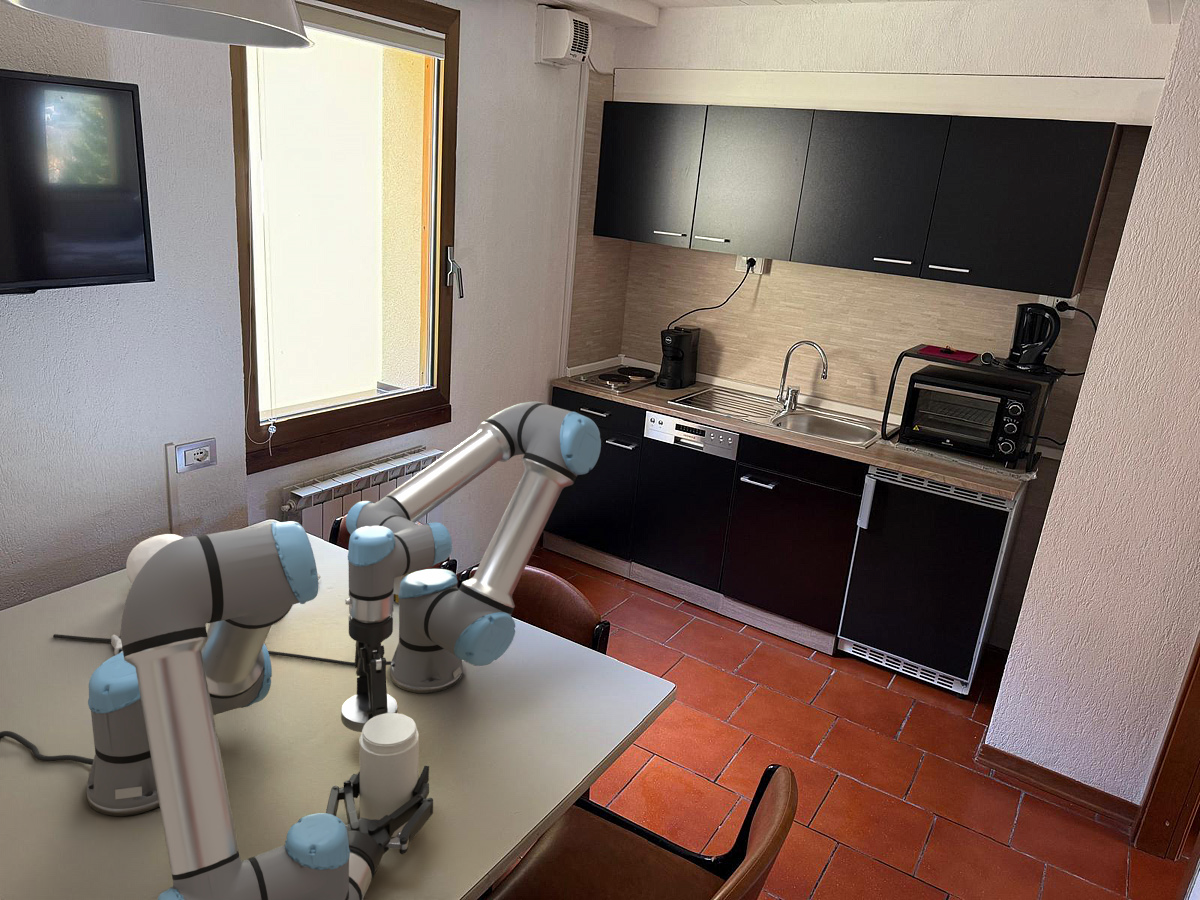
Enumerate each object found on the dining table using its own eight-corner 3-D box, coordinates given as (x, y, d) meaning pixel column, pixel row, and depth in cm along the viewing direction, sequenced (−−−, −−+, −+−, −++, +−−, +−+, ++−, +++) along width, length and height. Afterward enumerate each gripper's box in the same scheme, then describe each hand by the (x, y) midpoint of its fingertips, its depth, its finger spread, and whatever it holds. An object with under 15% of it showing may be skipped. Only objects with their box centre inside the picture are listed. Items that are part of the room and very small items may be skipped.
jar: (377, 846, 135) (377, 753, 130) (349, 814, 141) (348, 724, 136) (427, 821, 141) (429, 731, 136) (399, 791, 147) (400, 704, 142)
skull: (191, 620, 195) (189, 556, 191) (114, 601, 201) (110, 538, 197) (232, 597, 208) (230, 537, 203) (157, 580, 213) (154, 520, 209)
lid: (407, 720, 155) (407, 711, 154) (356, 739, 148) (356, 729, 148) (381, 694, 162) (381, 686, 161) (332, 712, 155) (332, 702, 155)
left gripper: (274, 880, 124) (334, 779, 145) (422, 901, 123) (461, 795, 144) (272, 838, 122) (334, 741, 143) (423, 858, 120) (462, 758, 142)
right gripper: (338, 588, 157) (338, 694, 163) (361, 648, 138) (360, 765, 144) (379, 583, 160) (378, 687, 167) (407, 641, 141) (405, 756, 148)
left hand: (397, 768), depth 144 cm, fingers closed on jar, 9 cm apart
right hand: (370, 723), depth 155 cm, fingers closed on lid, 10 cm apart
